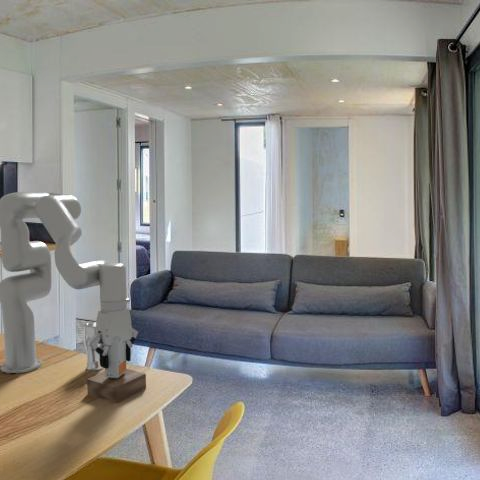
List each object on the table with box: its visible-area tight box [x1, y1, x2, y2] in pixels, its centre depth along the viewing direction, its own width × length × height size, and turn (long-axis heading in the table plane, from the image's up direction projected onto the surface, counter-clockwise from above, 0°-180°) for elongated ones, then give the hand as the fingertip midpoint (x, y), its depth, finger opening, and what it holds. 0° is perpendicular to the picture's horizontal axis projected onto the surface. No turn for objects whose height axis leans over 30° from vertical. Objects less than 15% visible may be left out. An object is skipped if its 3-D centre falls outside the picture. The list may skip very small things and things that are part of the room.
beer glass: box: [83, 321, 104, 372], centre depth 163 cm, size 7×7×15 cm
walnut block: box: [86, 368, 147, 404], centre depth 144 cm, size 12×12×5 cm
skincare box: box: [104, 337, 127, 378], centre depth 143 cm, size 6×4×12 cm
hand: (115, 363), depth 144 cm, fingers closed on skincare box, 7 cm apart
